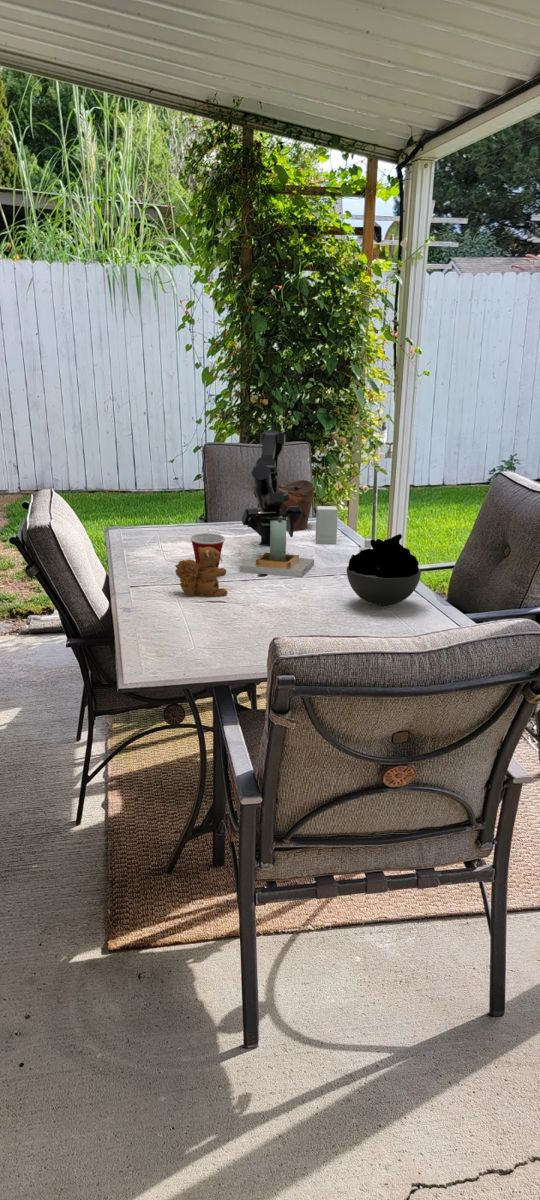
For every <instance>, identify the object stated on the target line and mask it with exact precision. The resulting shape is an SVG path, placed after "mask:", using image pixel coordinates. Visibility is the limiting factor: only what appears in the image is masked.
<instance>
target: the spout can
mask: <svg viewBox="0 0 540 1200" xmlns="http://www.w3.org/2000/svg"><path fill="white" fill-rule="evenodd" d="M282 519H283V517H282V516H279V519H278V520H271V521H270V545H269V553H270V561H282V562H286V554H287V553H286V552H287V530H286V521H285V520H282Z"/></svg>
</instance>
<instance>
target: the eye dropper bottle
mask: <svg viewBox="0 0 540 1200" xmlns="http://www.w3.org/2000/svg"><path fill="white" fill-rule="evenodd" d="M371 540H373V539H372V538H371V534H368V535H367V537H366V538H364V545H363V546H361V547H359V551H358V553H359V552H360V551H362V550H365V549H373V548H372V546H371Z"/></svg>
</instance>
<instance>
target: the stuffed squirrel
mask: <svg viewBox="0 0 540 1200" xmlns="http://www.w3.org/2000/svg"><path fill="white" fill-rule="evenodd" d="M198 551H199V559H200V562H199V565H198V564H197V563H196V561H195V559H192V558H191V559H190V558H188V559H182V560H179V561H178V563H177V564H174V567H175V568H176V569H175V574H176V576H177V577H178V578H179V582H180V584H179V585H180V587H181V590H182V591H183V593H185V594H186V595H187V596H191V597H194V596H197V595H201V596H205V597H225V596H228V590H227V589H225V588H219V587H220V583H219V580H218V578H219V577H220V578H221V577H224V576H225V575H226V574H227V569H226V568H224V567H219V566H218V567H215V565H214V564H216V563H217V562H219V560H220V562H221V563H223V560H222V557H221V556H220V552H219V551H218V550H216V549H215V548H212V547H204V548H202V547H199V548H198ZM220 562H219V563H220Z"/></svg>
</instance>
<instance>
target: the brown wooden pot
mask: <svg viewBox="0 0 540 1200" xmlns="http://www.w3.org/2000/svg"><path fill="white" fill-rule="evenodd" d="M286 490H287V492H288V494H289V500H288V501H285V502H284V503H282V504H281V505H282V507H281V511H286V509H287V507H288V506H299V507H300V508H301V511H302V513H301V515H300V517H299V518H298V520H297V521H296V522H295V523H294V527H293V531H302V530H305V529H306V528H307V527H308V523H309V518H310V514H311V508H312V504H313V500H314V498H315V493H314V492H315V487H314V484H313V483H312V482H311V481H308V480H305V479H302V480H301V479H300V480H296V481H292V482H289V483H285V484H281V485H280V484H279V485H277V492H282V491H286ZM284 520H285V519H284ZM286 531H288V530H287V527H286Z"/></svg>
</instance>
